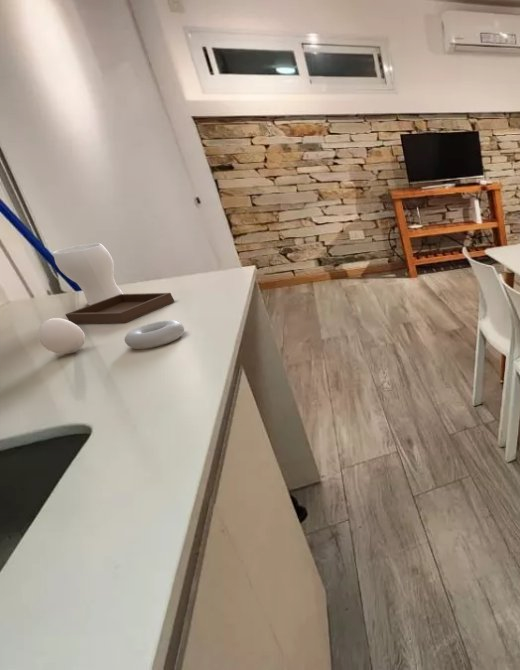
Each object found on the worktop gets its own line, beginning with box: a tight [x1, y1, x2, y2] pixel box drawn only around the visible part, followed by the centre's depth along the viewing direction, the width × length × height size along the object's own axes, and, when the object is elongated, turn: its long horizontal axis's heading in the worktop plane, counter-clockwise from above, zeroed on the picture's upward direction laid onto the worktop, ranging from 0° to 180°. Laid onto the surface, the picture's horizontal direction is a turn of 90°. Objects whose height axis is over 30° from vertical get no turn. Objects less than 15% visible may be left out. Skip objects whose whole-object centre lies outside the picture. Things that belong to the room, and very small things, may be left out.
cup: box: [52, 242, 124, 306], centre depth 129 cm, size 11×11×15 cm
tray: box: [64, 292, 176, 325], centre depth 122 cm, size 16×14×3 cm
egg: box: [37, 317, 86, 355], centre depth 100 cm, size 6×6×8 cm
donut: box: [124, 319, 185, 350], centre depth 103 cm, size 10×4×10 cm
